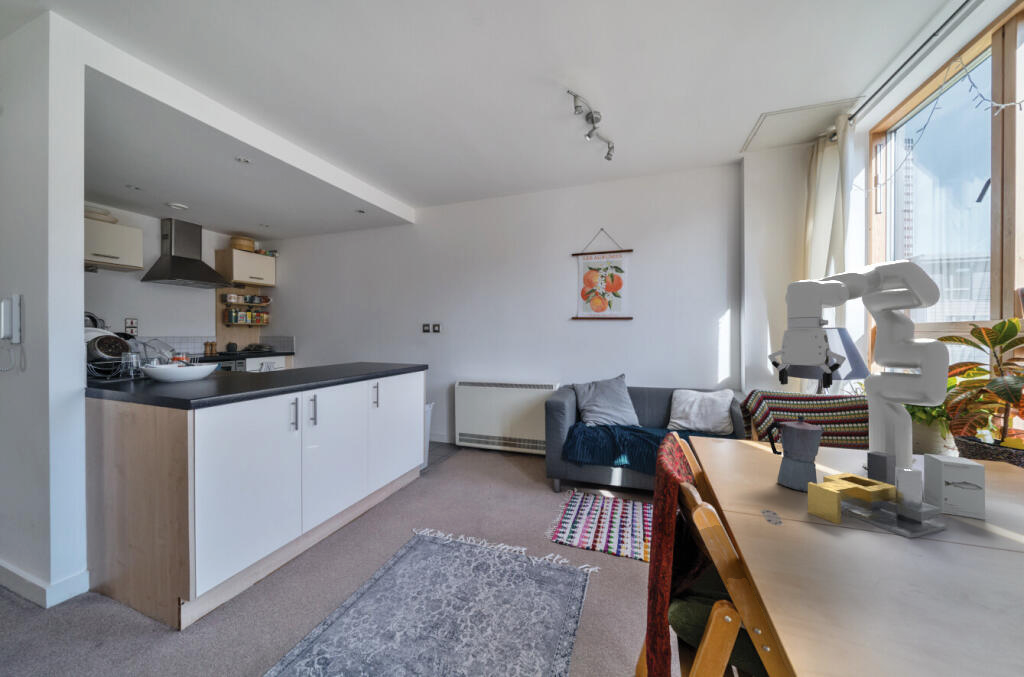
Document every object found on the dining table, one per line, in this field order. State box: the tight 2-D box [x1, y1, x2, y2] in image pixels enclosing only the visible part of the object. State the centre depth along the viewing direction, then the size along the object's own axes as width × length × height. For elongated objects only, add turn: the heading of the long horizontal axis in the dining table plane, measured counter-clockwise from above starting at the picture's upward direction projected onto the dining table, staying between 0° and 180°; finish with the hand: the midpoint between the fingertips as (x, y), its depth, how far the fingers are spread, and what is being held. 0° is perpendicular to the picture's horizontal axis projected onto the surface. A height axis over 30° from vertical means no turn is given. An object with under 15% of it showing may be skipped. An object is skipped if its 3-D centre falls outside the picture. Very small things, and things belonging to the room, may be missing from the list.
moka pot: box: [765, 415, 826, 493], centre depth 101 cm, size 10×15×20 cm, turn 89°
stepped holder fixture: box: [807, 467, 947, 539], centre depth 83 cm, size 21×16×12 cm
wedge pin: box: [866, 451, 896, 486], centre depth 96 cm, size 4×4×11 cm
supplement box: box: [923, 453, 986, 521], centre depth 87 cm, size 7×7×13 cm
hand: (804, 386), depth 100 cm, fingers open, 9 cm apart
